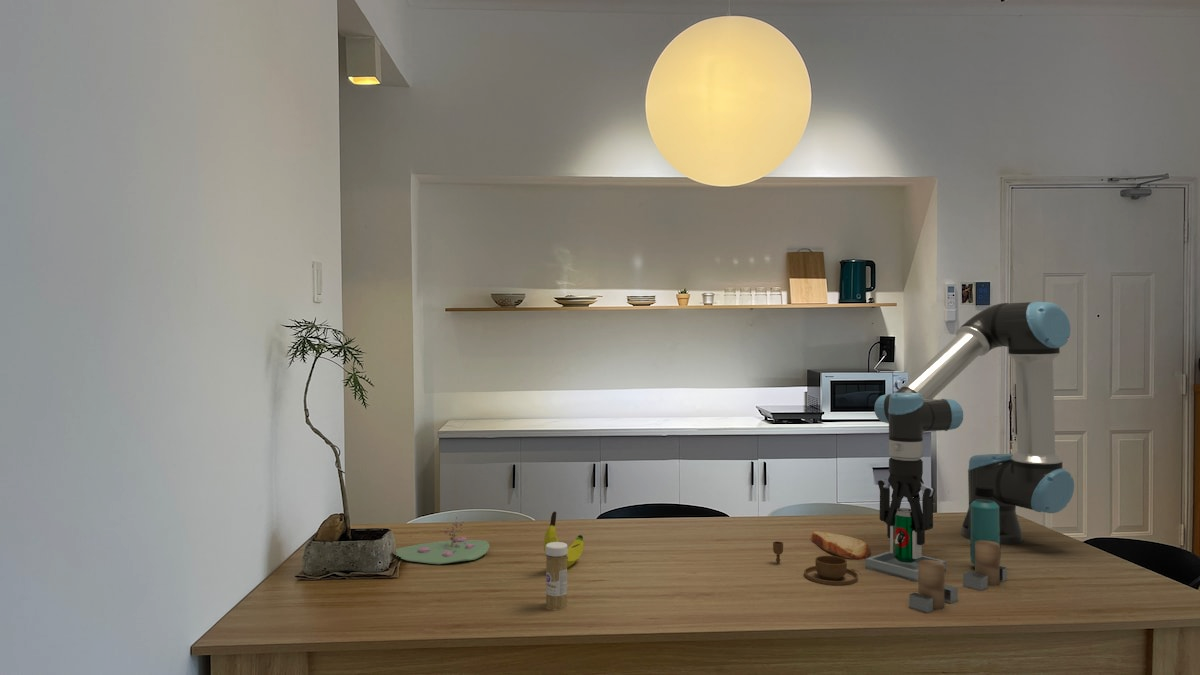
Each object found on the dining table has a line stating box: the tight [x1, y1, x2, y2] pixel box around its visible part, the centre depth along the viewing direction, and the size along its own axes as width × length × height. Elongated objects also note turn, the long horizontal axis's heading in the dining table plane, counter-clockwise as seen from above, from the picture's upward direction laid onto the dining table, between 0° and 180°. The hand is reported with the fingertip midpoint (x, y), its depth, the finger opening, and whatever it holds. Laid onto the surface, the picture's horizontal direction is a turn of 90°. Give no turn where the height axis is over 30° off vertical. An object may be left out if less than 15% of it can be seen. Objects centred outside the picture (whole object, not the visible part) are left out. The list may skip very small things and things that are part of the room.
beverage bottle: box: [969, 486, 1002, 566], centre depth 184 cm, size 6×7×20 cm
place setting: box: [772, 540, 862, 586], centre depth 183 cm, size 18×20×6 cm
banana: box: [543, 511, 585, 569], centre depth 187 cm, size 5×17×15 cm, turn 155°
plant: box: [395, 517, 490, 565], centre depth 202 cm, size 25×21×9 cm
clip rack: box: [908, 565, 1008, 614], centre depth 168 cm, size 34×4×3 cm, turn 128°
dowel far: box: [974, 540, 1001, 587], centre depth 175 cm, size 5×5×9 cm
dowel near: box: [917, 560, 945, 610], centre depth 160 cm, size 5×5×9 cm
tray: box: [865, 550, 947, 583], centre depth 184 cm, size 13×13×2 cm
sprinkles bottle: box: [544, 541, 568, 612], centre depth 160 cm, size 5×5×14 cm
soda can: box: [894, 507, 917, 563], centre depth 184 cm, size 5×5×12 cm
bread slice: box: [810, 530, 872, 561], centre depth 203 cm, size 18×18×4 cm
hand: (905, 554), depth 184 cm, fingers closed on soda can, 5 cm apart
